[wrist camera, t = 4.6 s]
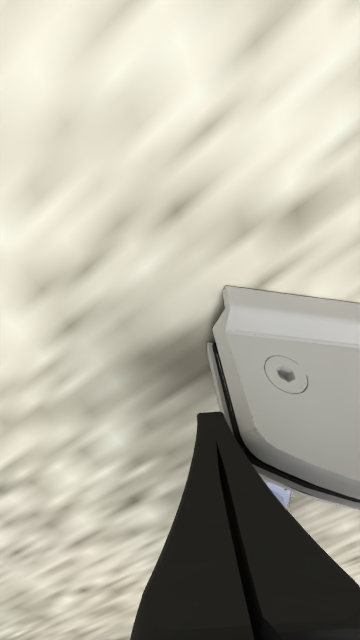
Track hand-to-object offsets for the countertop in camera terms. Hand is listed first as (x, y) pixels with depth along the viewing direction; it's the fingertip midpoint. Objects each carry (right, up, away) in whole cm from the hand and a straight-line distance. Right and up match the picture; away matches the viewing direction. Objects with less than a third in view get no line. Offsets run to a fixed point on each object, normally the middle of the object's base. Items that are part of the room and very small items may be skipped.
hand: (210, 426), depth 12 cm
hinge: (+9, +3, +5) cm, 10 cm away
